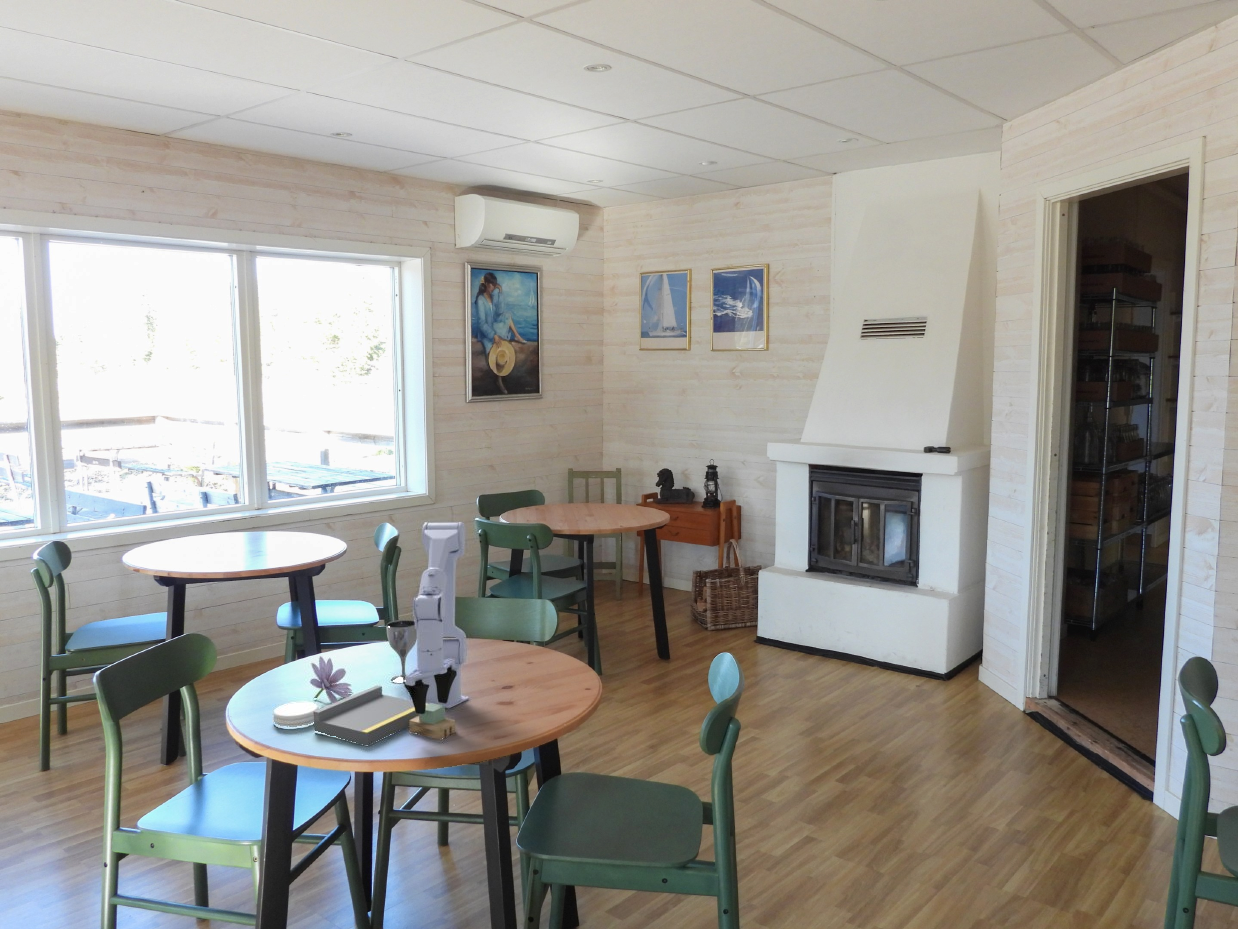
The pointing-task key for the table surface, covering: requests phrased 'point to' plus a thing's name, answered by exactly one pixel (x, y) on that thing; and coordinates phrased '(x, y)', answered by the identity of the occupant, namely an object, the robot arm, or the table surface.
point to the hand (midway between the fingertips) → (431, 707)
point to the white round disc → (295, 714)
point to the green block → (433, 714)
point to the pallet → (432, 728)
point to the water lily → (330, 680)
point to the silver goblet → (401, 641)
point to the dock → (365, 716)
